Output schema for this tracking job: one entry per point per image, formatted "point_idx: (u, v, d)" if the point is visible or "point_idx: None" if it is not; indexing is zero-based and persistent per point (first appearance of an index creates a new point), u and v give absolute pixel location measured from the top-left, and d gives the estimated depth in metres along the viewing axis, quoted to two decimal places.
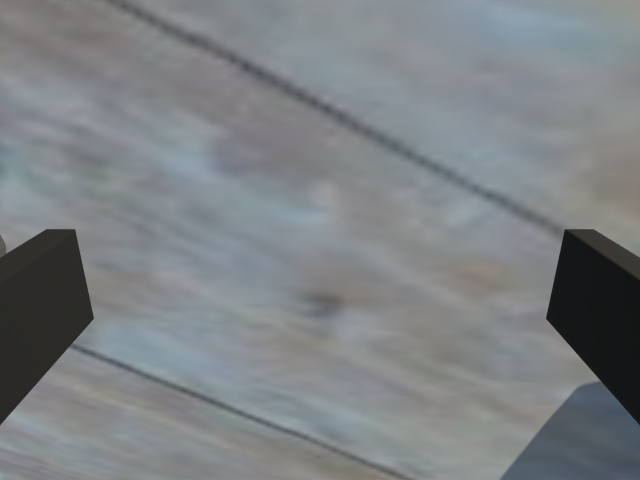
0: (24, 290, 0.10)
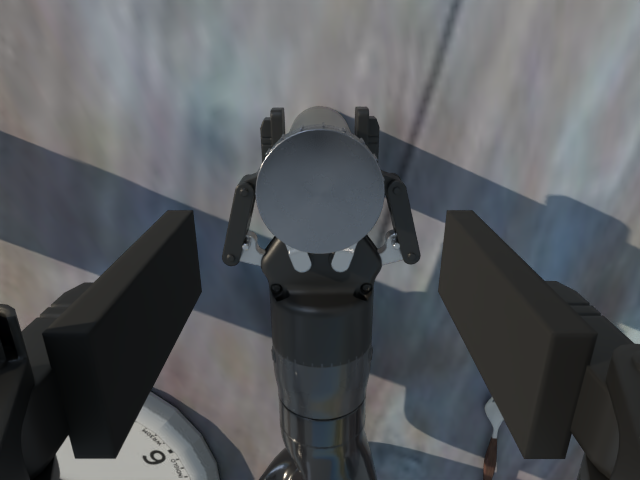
0: (170, 259, 0.11)
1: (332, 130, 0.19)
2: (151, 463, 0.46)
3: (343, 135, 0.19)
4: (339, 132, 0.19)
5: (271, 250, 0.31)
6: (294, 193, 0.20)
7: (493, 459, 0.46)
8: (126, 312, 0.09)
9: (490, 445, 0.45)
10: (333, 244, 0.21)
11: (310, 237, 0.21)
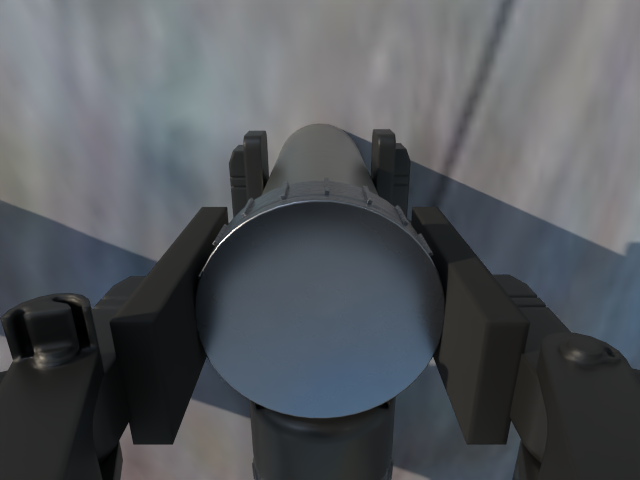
0: (210, 254, 0.12)
1: (345, 202, 0.09)
2: None
3: (367, 212, 0.09)
4: (359, 205, 0.09)
5: None
6: (270, 318, 0.10)
7: None
8: (179, 304, 0.09)
9: None
10: (344, 403, 0.11)
11: (301, 392, 0.11)
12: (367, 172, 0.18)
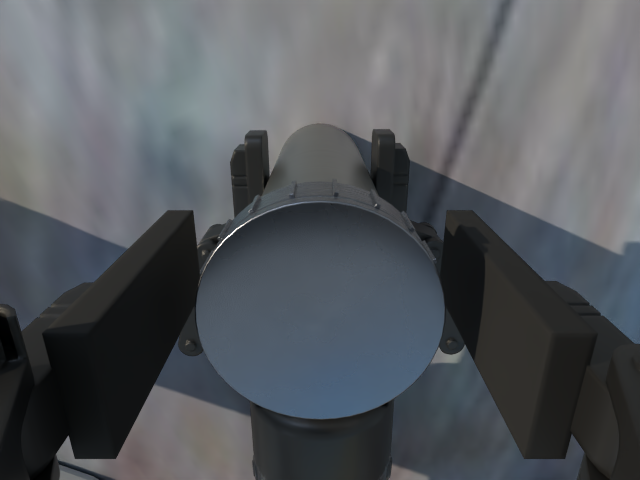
0: (170, 259, 0.11)
1: (205, 266, 0.10)
2: None
3: (218, 251, 0.10)
4: (213, 254, 0.10)
5: None
6: (302, 360, 0.11)
7: None
8: (126, 312, 0.09)
9: None
10: (427, 326, 0.10)
11: (395, 360, 0.11)
12: (367, 171, 0.18)
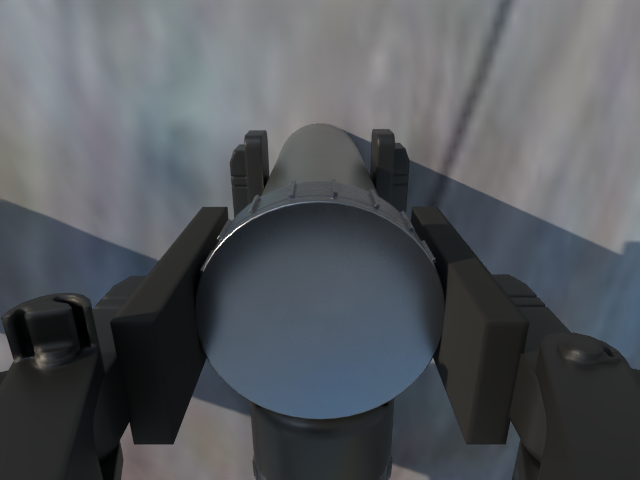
0: None
1: (205, 266, 0.10)
2: None
3: (218, 251, 0.10)
4: (212, 255, 0.10)
5: None
6: (302, 360, 0.11)
7: None
8: (180, 304, 0.09)
9: None
10: (426, 326, 0.10)
11: (395, 359, 0.11)
12: (366, 171, 0.18)
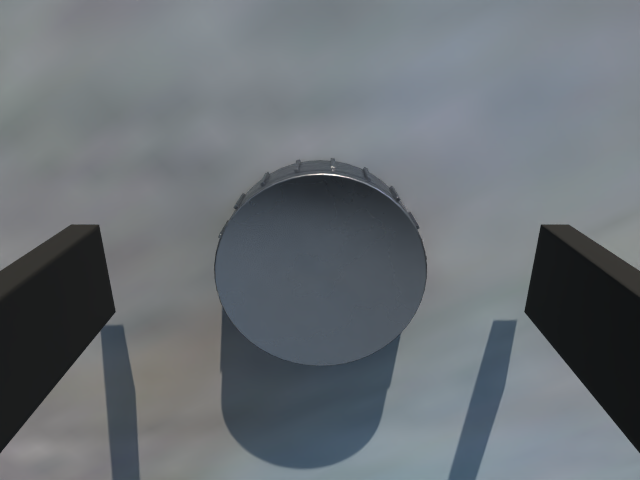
0: (55, 282, 0.10)
1: (224, 230, 0.12)
2: None
3: (235, 217, 0.11)
4: (230, 220, 0.12)
5: None
6: (305, 312, 0.12)
7: None
8: None
9: None
10: (411, 282, 0.12)
11: (384, 312, 0.12)
12: None
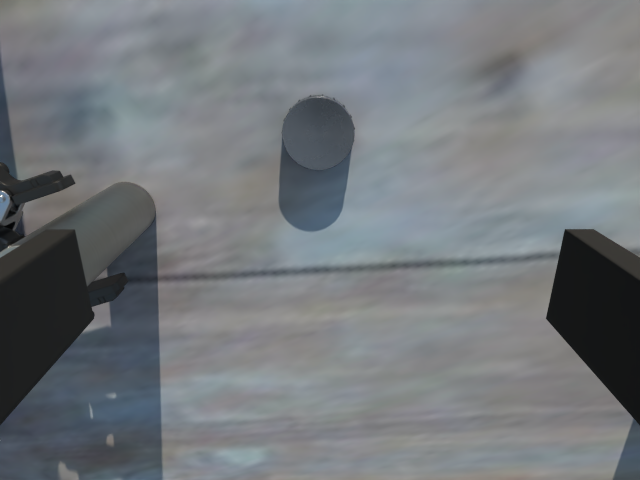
0: (24, 290, 0.10)
1: (286, 116, 0.35)
2: None
3: (290, 112, 0.35)
4: (288, 113, 0.35)
5: None
6: (313, 147, 0.36)
7: None
8: None
9: None
10: (349, 136, 0.36)
11: (340, 147, 0.36)
12: (117, 256, 0.33)
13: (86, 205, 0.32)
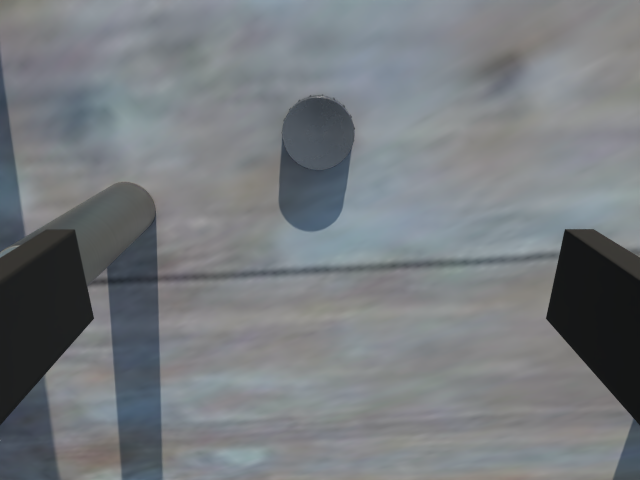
0: (24, 290, 0.10)
1: (286, 116, 0.35)
2: None
3: (290, 112, 0.35)
4: (288, 113, 0.35)
5: None
6: (313, 147, 0.36)
7: None
8: None
9: None
10: (349, 136, 0.36)
11: (340, 147, 0.36)
12: (117, 256, 0.33)
13: (86, 205, 0.32)
